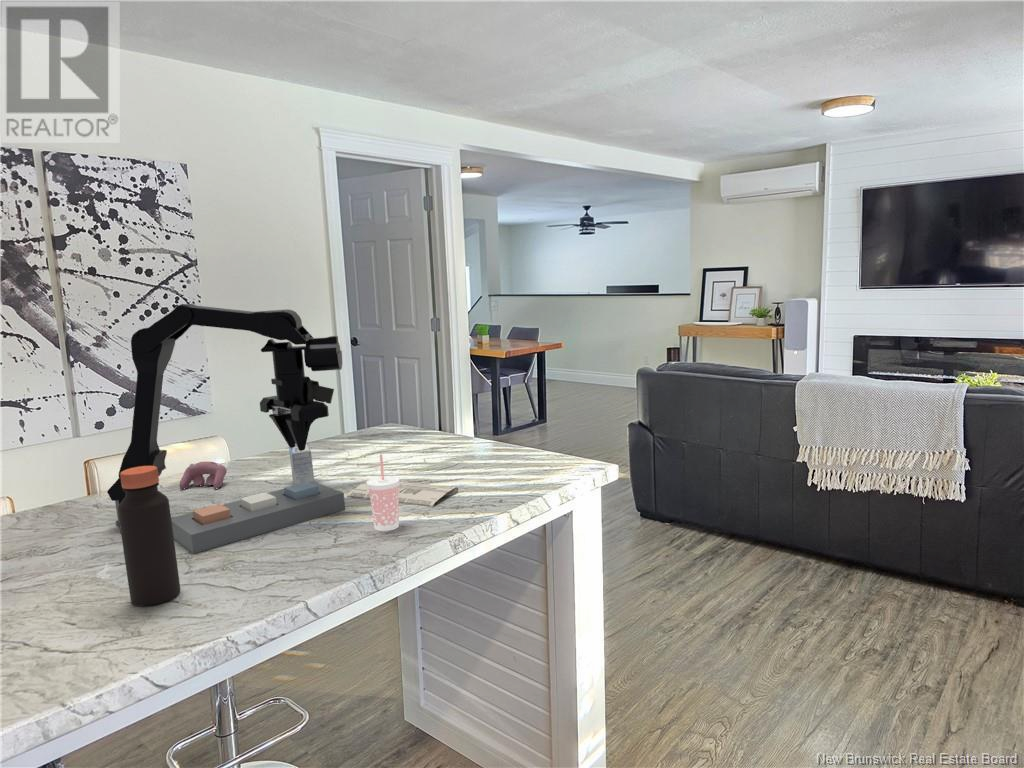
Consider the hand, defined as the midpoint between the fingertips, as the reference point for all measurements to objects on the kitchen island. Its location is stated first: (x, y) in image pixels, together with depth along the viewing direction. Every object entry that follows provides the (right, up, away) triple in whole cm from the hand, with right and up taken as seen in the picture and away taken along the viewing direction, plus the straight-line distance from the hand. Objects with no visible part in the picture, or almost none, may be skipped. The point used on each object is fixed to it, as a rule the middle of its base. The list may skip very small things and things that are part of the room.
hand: (297, 448), depth 141 cm
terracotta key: (-13, -13, -10) cm, 21 cm away
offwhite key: (-6, -12, -4) cm, 14 cm away
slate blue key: (0, -11, +2) cm, 11 cm away
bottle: (-11, -19, -35) cm, 42 cm away
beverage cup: (+20, -14, -10) cm, 26 cm away
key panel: (-6, -14, -4) cm, 16 cm away
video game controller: (-29, -11, +23) cm, 39 cm away
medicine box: (-5, -10, +21) cm, 24 cm away
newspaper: (+20, -11, +10) cm, 25 cm away
